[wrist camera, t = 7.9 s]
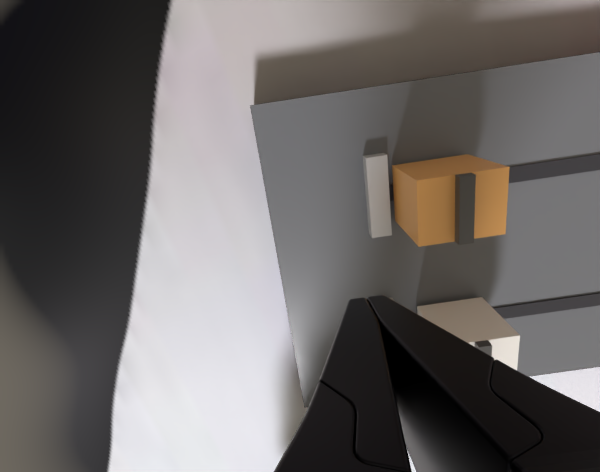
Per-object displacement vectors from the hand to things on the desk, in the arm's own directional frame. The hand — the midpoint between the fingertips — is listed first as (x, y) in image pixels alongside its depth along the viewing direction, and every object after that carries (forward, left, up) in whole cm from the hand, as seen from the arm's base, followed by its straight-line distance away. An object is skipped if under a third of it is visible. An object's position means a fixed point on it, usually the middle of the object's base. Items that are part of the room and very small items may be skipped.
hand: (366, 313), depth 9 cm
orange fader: (0, -5, -10) cm, 11 cm away
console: (-4, -9, -12) cm, 16 cm away
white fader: (-8, -6, -10) cm, 14 cm away
